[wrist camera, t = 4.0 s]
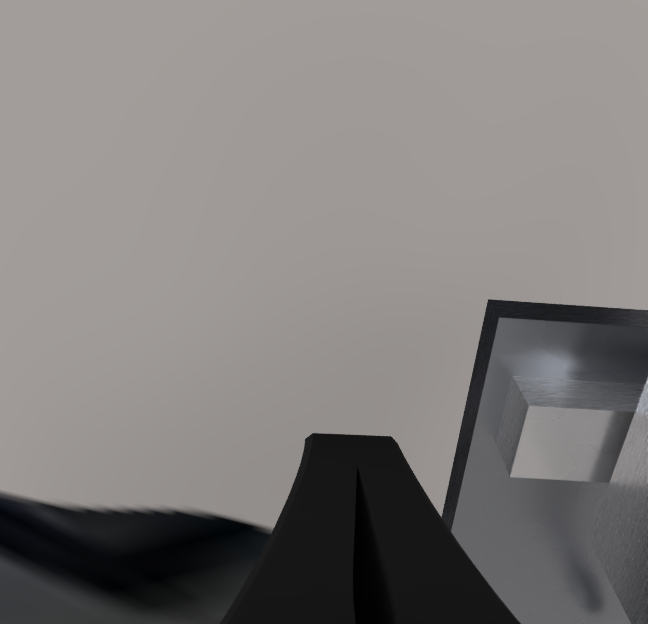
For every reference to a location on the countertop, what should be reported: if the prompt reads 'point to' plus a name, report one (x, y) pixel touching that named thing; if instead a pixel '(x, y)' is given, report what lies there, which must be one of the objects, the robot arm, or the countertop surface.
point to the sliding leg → (627, 520)
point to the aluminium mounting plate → (545, 453)
